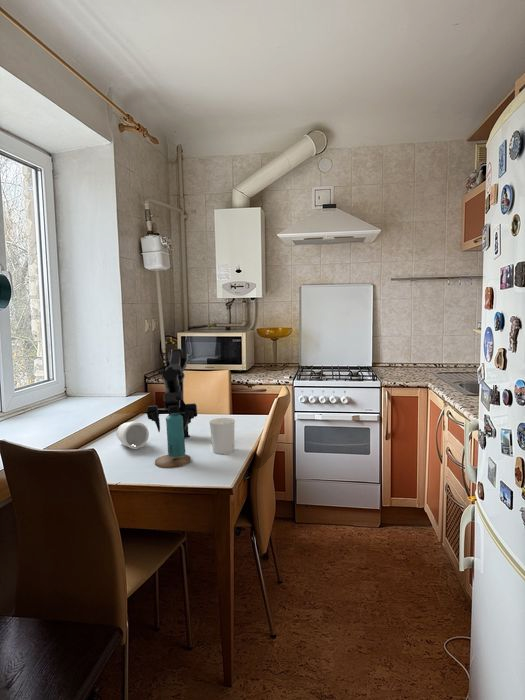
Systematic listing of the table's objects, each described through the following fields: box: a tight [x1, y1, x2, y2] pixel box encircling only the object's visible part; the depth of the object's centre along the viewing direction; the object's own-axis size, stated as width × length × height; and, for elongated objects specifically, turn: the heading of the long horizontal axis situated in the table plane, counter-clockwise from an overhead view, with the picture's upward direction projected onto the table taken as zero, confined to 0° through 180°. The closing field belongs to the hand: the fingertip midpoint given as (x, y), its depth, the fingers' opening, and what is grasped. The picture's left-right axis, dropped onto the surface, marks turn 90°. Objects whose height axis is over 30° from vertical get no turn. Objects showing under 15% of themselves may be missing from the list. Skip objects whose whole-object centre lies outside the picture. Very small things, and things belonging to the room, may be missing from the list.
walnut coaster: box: [154, 453, 192, 469], centre depth 173 cm, size 13×13×1 cm
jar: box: [116, 421, 150, 450], centre depth 195 cm, size 11×10×15 cm
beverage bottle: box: [165, 405, 186, 457], centre depth 173 cm, size 6×7×20 cm
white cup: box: [209, 417, 236, 455], centre depth 184 cm, size 10×10×12 cm
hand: (171, 430), depth 173 cm, fingers open, 9 cm apart
